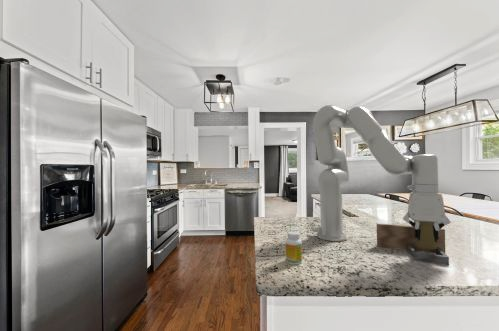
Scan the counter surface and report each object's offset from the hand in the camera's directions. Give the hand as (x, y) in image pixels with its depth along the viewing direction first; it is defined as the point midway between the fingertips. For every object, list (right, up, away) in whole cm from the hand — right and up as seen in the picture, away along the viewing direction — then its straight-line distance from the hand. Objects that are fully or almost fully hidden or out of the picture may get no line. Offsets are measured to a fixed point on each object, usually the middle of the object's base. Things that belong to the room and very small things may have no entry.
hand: (426, 240), depth 84 cm
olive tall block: (0, -2, 0) cm, 2 cm away
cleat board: (-3, -6, +2) cm, 7 cm away
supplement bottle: (-48, -6, -4) cm, 49 cm away
